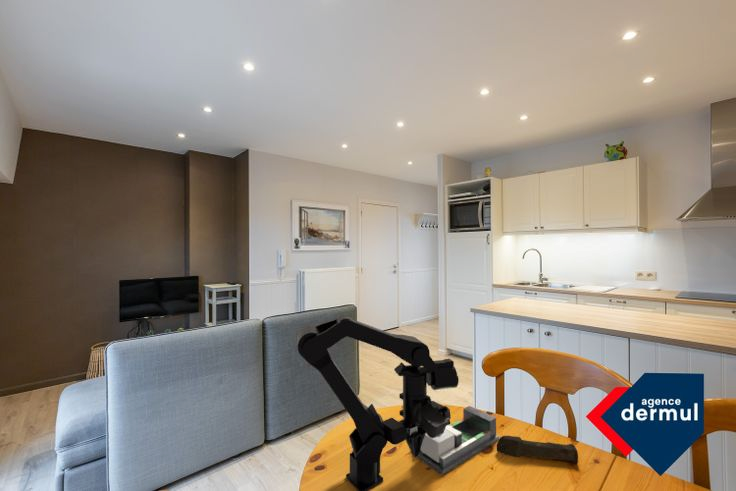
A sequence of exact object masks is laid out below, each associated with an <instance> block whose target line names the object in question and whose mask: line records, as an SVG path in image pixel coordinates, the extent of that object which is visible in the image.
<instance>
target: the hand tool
mask: <svg viewBox="0 0 736 491" xmlns="http://www.w3.org/2000/svg"><path fill="white" fill-rule="evenodd" d="M496 452H498V453H499V454H502V455H505V456H510V457H515V458H522V457H524V456H527V457H532V458H533V457H536V458H545V459H551V460H559V461H569V462H574V464H575V465H577V464H578V463H579V452H578V450H577V448H576V446H575V444H573V443H568V444H563V443H561V444H560V443H554V442H548V441H547V442H543V441H541V442H540V441H533V440H532V441H531V440H526V439H522V438H521V437H520V436H515V435H502V436H501V437H500V436H499V440H498V441H497V443H496Z"/></svg>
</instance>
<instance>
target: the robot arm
mask: <svg viewBox="0 0 736 491" xmlns="http://www.w3.org/2000/svg"><path fill="white" fill-rule="evenodd" d="M347 337H348V338H350V339H353V340H356V341H360V342H362V343H364V344H367V345H371V346H374V347H376V348H379V349H382V350H384V351H387V352H390V353H392V354H393V355H395V356H397V357H398V358H400V359H401V360H402V361H405V363H408V364H407V365H406V364H404V363H403V362H399V365H397V366H395V368H394V372H395V373H396V374H397V376H398V377H402V392H401V393H399V396H398V397H399V399H400V400H402V409H401V410H399V416H401V417H402V419H401V420H399V421H398V420H397V419H395V418H394V417H390V418H388V419H387V418H386V419H385V420H384V419H383V416H381V414H380V413H378V412H377V409H376V408H375V406H374V404H373V403H371V404H369V406H367V405H365V404H364V403H363V401H362V400H361V398H360V397H359V396H358V394H357V393H356V391H355V389H354V388H353V387H352V386H351V384H350V382H349V381H348V379H347V378H346V377H345V375H344V374H343V372H342V370H341V369H340V368H339V367H338V365H337V364H336V362H335V360H334V359H333V358H332V355H331V353H330V351H329V349H330V348H331V347H333V346H334V345H335V344H337V343H339V342H340V341H342V340H343V339H344V338H347ZM296 338H297V351H298V354H299V356H301V357H302V358H303V359H304V360H305V361H306V362H307V363H308V365H310V366H311V367H312V368H314V369H315V370H317V371H318V372H319V373H320V375H322V377H323V378H324V380H325V382H326V383H327V385H328V386H329V388H330V389H331V390H332V392H333V394H334V395H335V396H336V397H337V399H338V400H339V402H340V403H341V405H342V406H343V408H344V409H345V410H346V412H347V414H348V415H349V416H350V417H351V419H352V421H353V422H354V426H355V428H354V430H353V431H352V432H351V433H350V434H349V436H348V438H349V441H350V442H349V443H350V445H351V448H352V451H351V452H350V453H349V473H346V474H345V478H346V479H347V480H348V481H349V483H350V484H352V485H353V487H354V488H355V489H357V491H369V490H370V489H372V488H373V487H375V486H378V485H380V484H381V483H383V482H384V477H383V476H382V475H380V473H381V455H382V453H383V450H384V448H386V445H387V444H388V443H390V444H392V445H398V444H401V443H403V442H406V445H407V446H408V448H409V452H410V454H411V455H412V456H413V457H414V458H417V456H418V454H419V451H420V448H421V445H422V442H423V439H424V437H425V434H426V433H427V435H428V436H429V437H431V438H435V437H436V436H438V435H440V434H443V433H444V431H445V428H446V426H447V425H451V418H452V416H451V409H449V407H448V406H447V405H442V404H441V403H439V402H436V401H434V400H432V399H431V396H430V395H428V390H427V388H428V387H430V388H431V389H432V390H434V391H437V390H446V389H455V388H457V387H458V385H459V376H458V372H457V368H456V367H455V362H454V361H453V359H451V358H444V359H440V360H434V359H433V358H432V356H430V355H431V354H430V353H431V352H430V349H429V346H428V345H427V344H425V343H424V342H423V341H422V340H420V339H418V338H417V337H416V336H412V335H406V334H395V333H390V332H388V331H385V330H382V329H381V328H377V327H374V326H373V325H369V324H366V323H363V322H361V321H358V320H355V319H352V318H351V317H349V316H348V315H341V316H339V317H337V318H335V319H331V320H329V321H326V322H322V323H320V324H318V325H315V326H306V327H304V328H302V329H300V331H299V332H298V334H297V337H296ZM427 386H428V387H427Z"/></svg>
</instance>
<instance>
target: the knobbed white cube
mask: <svg viewBox="0 0 736 491" xmlns="http://www.w3.org/2000/svg"><path fill="white" fill-rule="evenodd" d="M452 449H454V434H452V433H451V432H449V431H447V430H445V431H444V433H443V434H440V435H438V436H436V437H435V438H431V437H429V436H428V435H427V433H426V434H425V437H424V439H423V442H422V445H421V451H422V452H423V453H425V454H426V455H428V456H429V457H431V458H432V459H434V460H435V461H436V462H438V463H439V462H440V456H442V455H444V454H445V453H447V452H449V451H451V450H452Z"/></svg>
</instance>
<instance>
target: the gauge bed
mask: <svg viewBox="0 0 736 491" xmlns="http://www.w3.org/2000/svg"><path fill="white" fill-rule="evenodd" d="M462 410H463V414H462V416H463V418H460V419H459V420H457V421H455V422H453V423H450V424H449V426H451V427H452V428H454V429H456V430H458V431H460V432H462V444H461V445H459V446H458V447H456V448H454V449H452V450H451V451H449V452H447V453H445V454H444V455H442V456H440V462H439V463H438V462H436V461H435V460H434V459H432V458H431V457H429V456H428V455H426V454H425V453H423V452H422V451H421V448H420V451H419V454H418V456H417V457H416V458H417V459H418V460H420V461H421V462H423V463H424V464H426V465H427V466H428V467H430V468H431V469H433V470H434V471H436V472H437V473H438V474H440V475H441V476H444V475H445V474H447V473H449V472H450V471H452V470H454V469H455V468H456V467H458V466H460V465H461V464H462V463H464V462H466V461H467V460H469V459H471V458H472V457H474V456H475V455H477V454H479V453H481V452H482V451H484V450H486V448H488V447H489V446H492V445H493V444H495V443H496V442H498V441H499V439H500V436H499V435H498V434H497V417H495V416H493V415H491V414H488V413H487V412H484V411H482V410H480V409H477V408H475V407H473V406H471V405H469V406H466V407H464V408H463V409H462Z"/></svg>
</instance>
